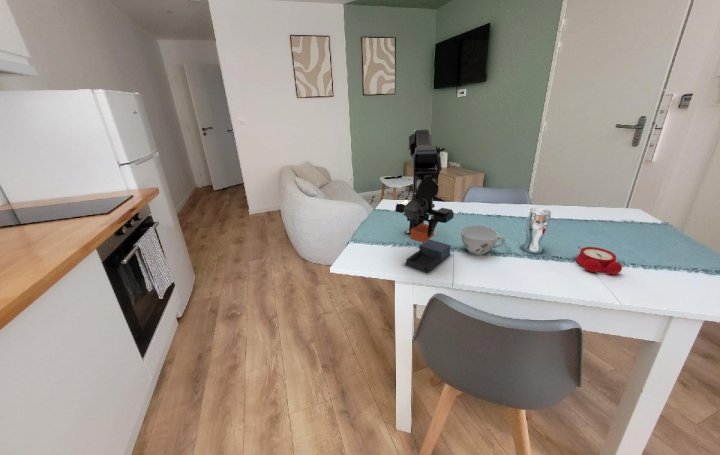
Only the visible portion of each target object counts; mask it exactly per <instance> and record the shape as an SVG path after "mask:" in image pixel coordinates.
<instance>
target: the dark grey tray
mask: <svg viewBox="0 0 720 455" xmlns="http://www.w3.org/2000/svg"><path fill="white" fill-rule="evenodd" d="M418 248H419V249H418V251H416V252H415V253H413V254H412V255H410V256H409V257H407V258H406V259H405V260H406V261H405V263H404V265H405V266H407V267H410V268H411V269H415V270H418V271H420V272H423V273H426V274H429V273H430V272H432V271H433V270H434V269H435V268H436V267H437V266H439V265H440V264H441V263H442V262H443V261H445V260H446V259H447V258H449V256H451V248H452V245H450V244H447V243H444V242H441V241H437V240H433V239H431V238H430V239H428V240H427V241H425V242H424V243H422V242H421V244H419V246H418Z"/></svg>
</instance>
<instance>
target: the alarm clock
mask: <svg viewBox="0 0 720 455" xmlns="http://www.w3.org/2000/svg"><path fill="white" fill-rule="evenodd" d="M577 248H578V249H580V251H579V254H578V255H577V256H576V257H575V261H576V263H577V264H578V265H580V266H581V267H584V270H586V271H587V272H590V273H597V272H599V273H603V274H609V275H618V274H619V273H621V271H622V270H623V266H622V264H621V262H618V261H617V255H616V253H613V252H612V251H610V250H607V249H605V248H601V247H596V246H584V247H581V246H578V247H577Z"/></svg>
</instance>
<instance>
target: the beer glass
mask: <svg viewBox="0 0 720 455" xmlns="http://www.w3.org/2000/svg"><path fill="white" fill-rule="evenodd" d="M528 210H529V211H528V214H527V218H526V222H525V223H526V224H525V241H524V244H523V246H522V249H523V250H524V251H525V252H528V253H531V254H540V253H542V252H543V242H544V239H545V237H546V235H547V232H548V230H549V227H550V223H551V218H552V217H551V216H552V212H551V210H549V209H546V208H540V207H533V208H530V209H528Z"/></svg>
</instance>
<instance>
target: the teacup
mask: <svg viewBox="0 0 720 455" xmlns="http://www.w3.org/2000/svg"><path fill="white" fill-rule="evenodd" d="M460 238H461V242H462V243H463V245H464V247H465V249H466V250H467V251H468V252H469V253H470V254H471V255H472V254H473V255H475V256H482V255H485V254H486V253H488V252H490V251H491V250H492V249H496V248H501V247H502V246H503V245H505V242H506V238H505V237H504V236H502V235H501V236H500V235H499V233H498V232H497V231H496V230H495V229H493V228H491V227H488V226H485V225H480V224H479V225H475V224H473V225H468V226H464V227H462V228H461V229H460ZM499 240H501V241H502V242H501V243H500V244H497V245H496V243H497V242H498V241H499Z"/></svg>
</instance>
